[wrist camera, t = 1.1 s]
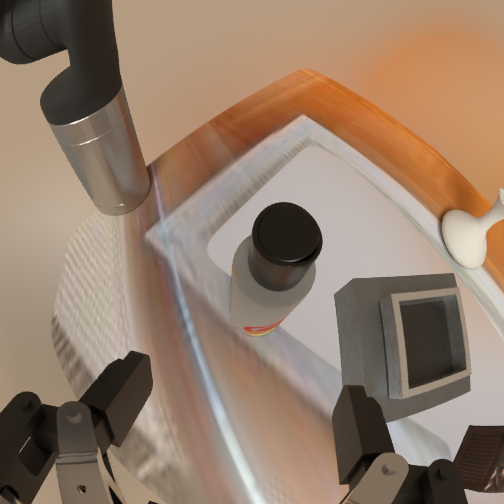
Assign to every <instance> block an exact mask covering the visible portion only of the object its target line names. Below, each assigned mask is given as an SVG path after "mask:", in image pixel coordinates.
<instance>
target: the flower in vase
mask: <svg viewBox="0 0 504 504" xmlns="http://www.w3.org/2000/svg"><path fill="white" fill-rule="evenodd" d="M501 219H504V188H500V189H499V194H498V199H497V200H496V202H495V204H494V205H493V207H492V208H491V209H490V210H489V211H488V212H487V213H486V214H485V215H483V216H482V217H480V218H476V217H474V216H472V215H470V214H469V213H467V212H465V211H461V210H456V209H455V210H451V211H448V212H447V213H446V214H445V215H444V217H443V221H442V234H443V239H444V242H445V244H446V247H447V249H448V250H449V252H450V254H451V255H452V257H453V258H454V259H455V260H456V261H457V262H458V263H459V264H460V265H461V266H463V267H465V268H468V269H472V270H474V269H478V268H479V267H480V266H481V265H482V263H483V262H484V260H485V257H486V250H487V244H486V232H487V230H488V229H489V228H490V227H491V226H492V225H494V224H495V223H496V222H498V221H500V220H501Z"/></svg>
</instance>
